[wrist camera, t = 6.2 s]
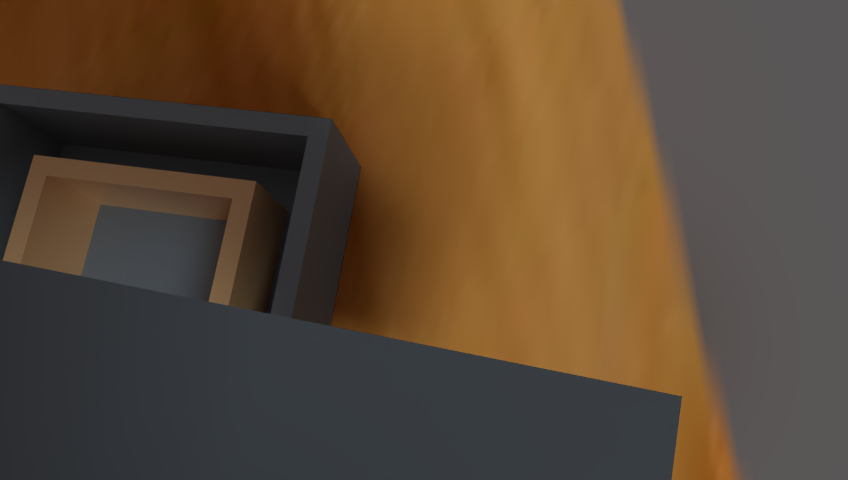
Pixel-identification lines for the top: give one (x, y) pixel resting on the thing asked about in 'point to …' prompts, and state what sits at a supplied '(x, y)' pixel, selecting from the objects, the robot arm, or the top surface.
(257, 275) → the walled box
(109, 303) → the plug
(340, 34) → the top surface
